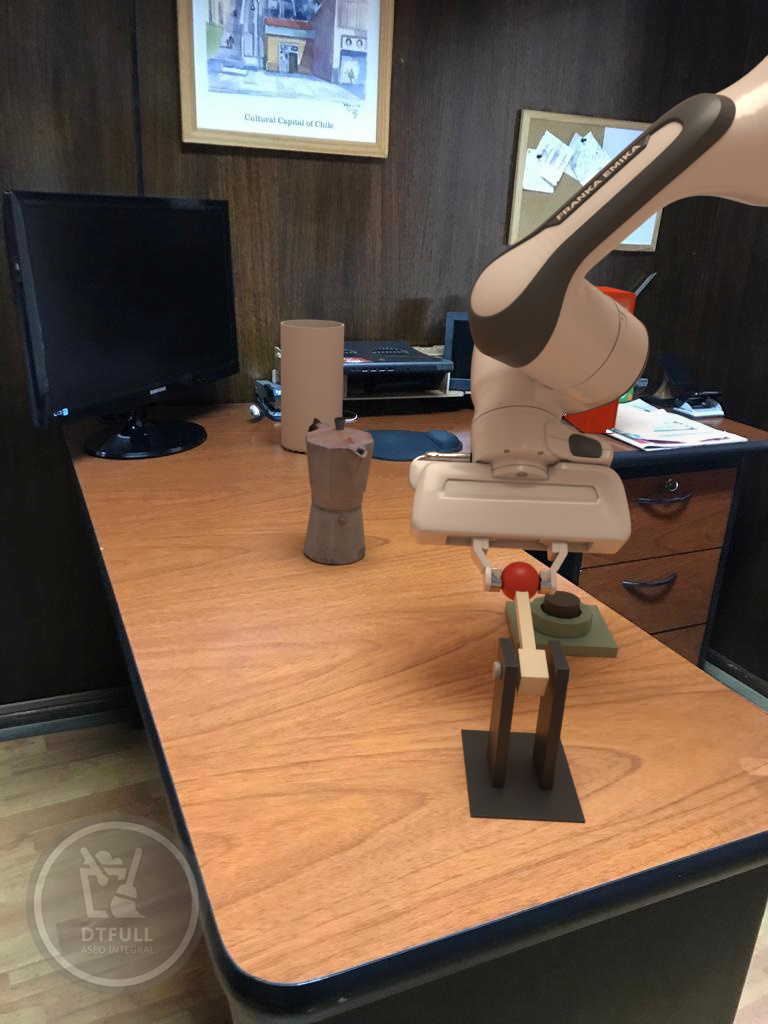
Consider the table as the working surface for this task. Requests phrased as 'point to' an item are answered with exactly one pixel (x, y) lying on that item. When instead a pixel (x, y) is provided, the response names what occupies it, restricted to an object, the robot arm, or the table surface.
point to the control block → (566, 630)
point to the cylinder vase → (310, 377)
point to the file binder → (607, 414)
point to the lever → (526, 628)
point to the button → (561, 605)
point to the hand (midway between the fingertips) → (520, 591)
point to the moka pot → (337, 491)
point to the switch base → (522, 750)
